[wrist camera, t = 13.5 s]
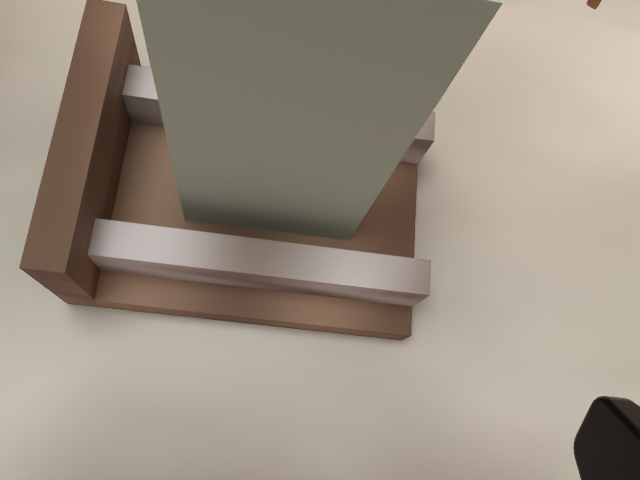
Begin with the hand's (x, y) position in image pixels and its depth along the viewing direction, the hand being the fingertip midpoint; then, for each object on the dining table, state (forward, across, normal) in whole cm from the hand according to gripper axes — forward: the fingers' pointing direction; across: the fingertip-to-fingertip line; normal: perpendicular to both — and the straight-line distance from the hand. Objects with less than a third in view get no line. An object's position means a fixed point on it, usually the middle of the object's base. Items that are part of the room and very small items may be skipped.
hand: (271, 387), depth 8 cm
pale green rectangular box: (+14, 0, +3) cm, 15 cm away
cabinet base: (+15, 0, +4) cm, 16 cm away
